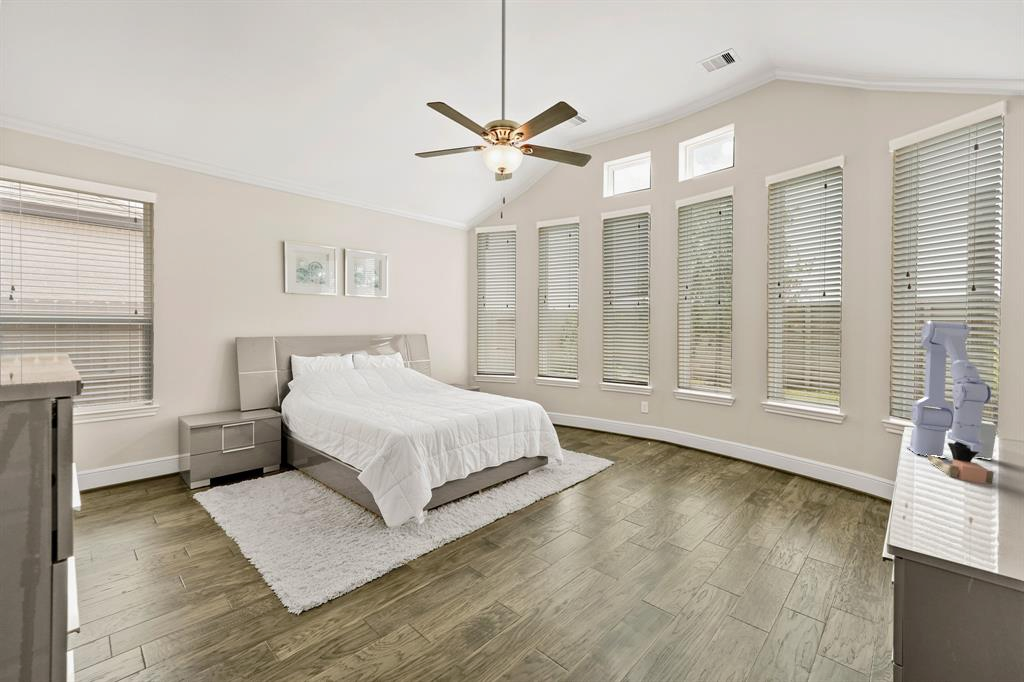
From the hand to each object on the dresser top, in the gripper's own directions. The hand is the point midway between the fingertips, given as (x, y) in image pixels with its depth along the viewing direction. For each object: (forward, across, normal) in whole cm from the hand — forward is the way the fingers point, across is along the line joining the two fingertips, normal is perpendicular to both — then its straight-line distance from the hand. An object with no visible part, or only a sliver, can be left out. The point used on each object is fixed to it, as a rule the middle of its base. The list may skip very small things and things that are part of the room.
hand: (960, 469), depth 130 cm
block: (+1, -4, 0) cm, 5 cm away
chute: (+1, +1, 0) cm, 2 cm away
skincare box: (+1, +26, -15) cm, 30 cm away
